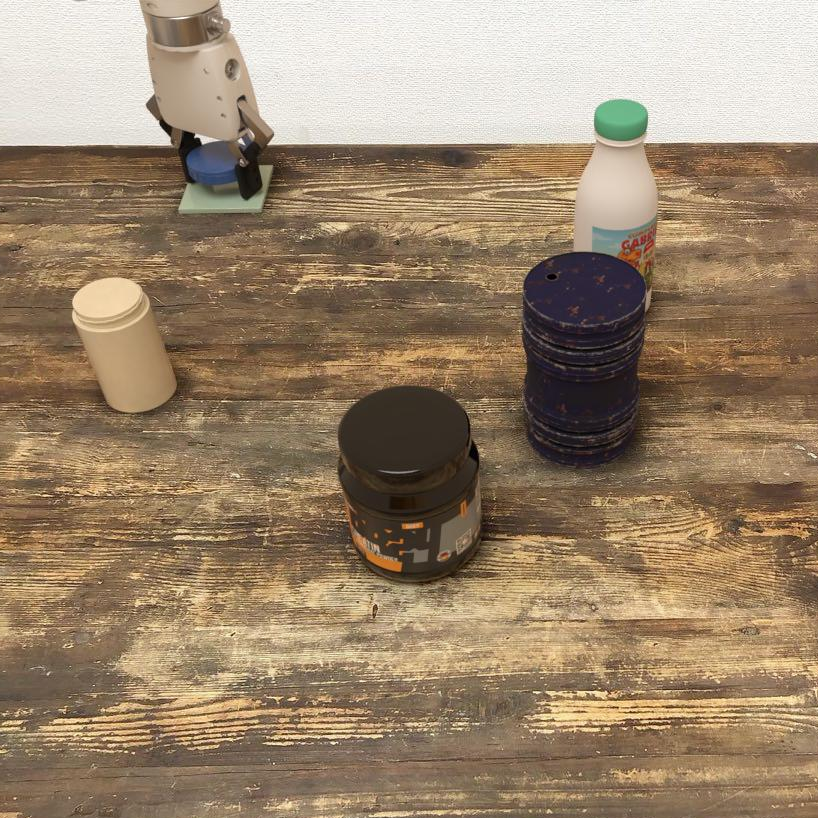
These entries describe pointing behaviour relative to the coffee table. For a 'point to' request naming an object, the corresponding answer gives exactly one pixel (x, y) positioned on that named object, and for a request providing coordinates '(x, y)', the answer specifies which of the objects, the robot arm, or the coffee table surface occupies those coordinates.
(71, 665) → the coffee table surface
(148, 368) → the beige jar
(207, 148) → the lid
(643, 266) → the milk bottle
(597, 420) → the storage jar
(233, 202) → the tile
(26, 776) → the coffee table surface
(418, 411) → the supplement container
